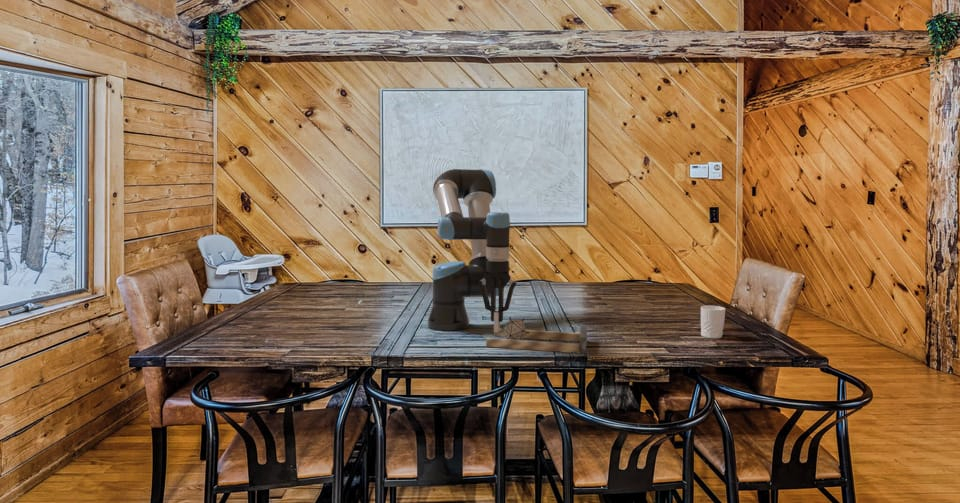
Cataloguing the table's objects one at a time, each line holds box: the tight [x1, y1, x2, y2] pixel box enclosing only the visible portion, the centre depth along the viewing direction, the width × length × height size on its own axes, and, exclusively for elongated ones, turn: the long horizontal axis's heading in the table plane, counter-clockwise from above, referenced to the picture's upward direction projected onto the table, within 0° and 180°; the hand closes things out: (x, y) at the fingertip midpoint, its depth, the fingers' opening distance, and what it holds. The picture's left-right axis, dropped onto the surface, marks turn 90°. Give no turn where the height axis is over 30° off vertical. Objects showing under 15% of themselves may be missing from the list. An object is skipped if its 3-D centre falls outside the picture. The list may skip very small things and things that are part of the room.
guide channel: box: [485, 325, 588, 354], centre depth 182 cm, size 31×15×5 cm, turn 78°
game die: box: [500, 316, 529, 340], centre depth 183 cm, size 9×8×10 cm
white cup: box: [700, 304, 726, 339], centre depth 193 cm, size 8×8×10 cm
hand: (496, 331), depth 184 cm, fingers closed
